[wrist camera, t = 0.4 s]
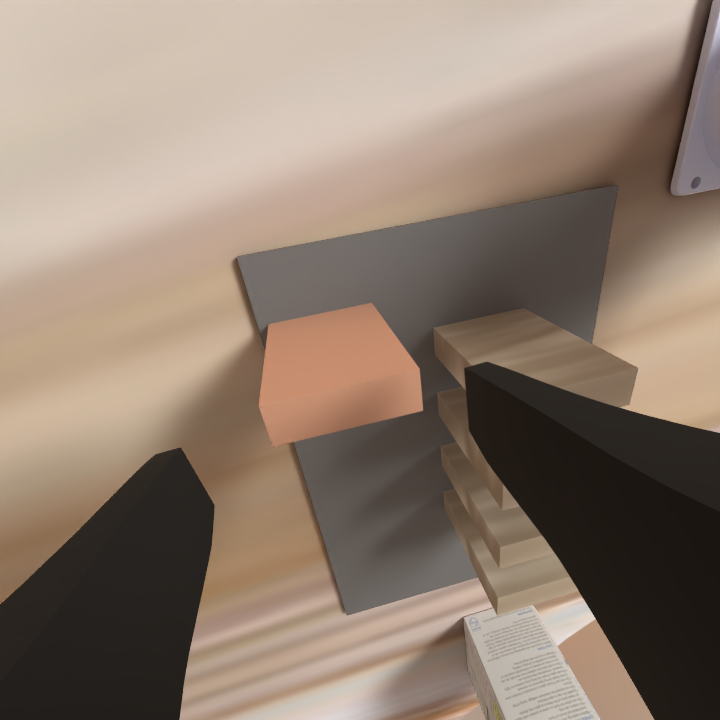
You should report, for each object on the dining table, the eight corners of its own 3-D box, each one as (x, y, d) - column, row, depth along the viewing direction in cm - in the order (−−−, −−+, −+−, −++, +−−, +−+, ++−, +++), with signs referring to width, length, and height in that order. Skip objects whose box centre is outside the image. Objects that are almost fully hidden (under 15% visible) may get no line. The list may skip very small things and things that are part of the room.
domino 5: (443, 491, 24) (497, 598, 18) (512, 473, 24) (589, 570, 18) (444, 508, 25) (497, 615, 19) (511, 489, 25) (585, 588, 19)
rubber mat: (613, 185, 17) (618, 185, 17) (554, 550, 30) (557, 554, 30) (237, 256, 16) (236, 257, 15) (346, 611, 28) (346, 615, 28)
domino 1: (268, 324, 17) (258, 406, 11) (371, 302, 17) (420, 369, 11) (277, 354, 18) (272, 446, 11) (376, 332, 18) (423, 410, 12)
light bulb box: (526, 651, 38) (607, 809, 28) (465, 671, 37) (527, 839, 28) (529, 593, 33) (630, 762, 23) (459, 616, 32) (532, 798, 23)
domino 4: (440, 446, 22) (500, 547, 16) (515, 427, 23) (602, 518, 16) (441, 465, 23) (499, 569, 17) (514, 446, 23) (596, 540, 17)
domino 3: (437, 392, 20) (503, 483, 14) (519, 372, 21) (618, 452, 15) (438, 414, 21) (502, 510, 15) (517, 395, 22) (611, 481, 15)
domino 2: (433, 327, 18) (507, 399, 12) (523, 308, 19) (638, 368, 13) (434, 354, 19) (505, 436, 13) (521, 335, 20) (629, 404, 14)
